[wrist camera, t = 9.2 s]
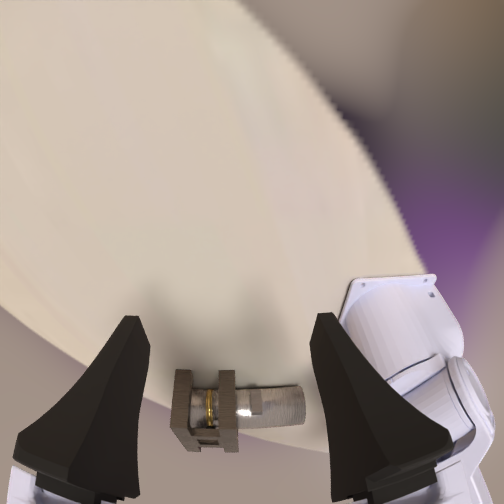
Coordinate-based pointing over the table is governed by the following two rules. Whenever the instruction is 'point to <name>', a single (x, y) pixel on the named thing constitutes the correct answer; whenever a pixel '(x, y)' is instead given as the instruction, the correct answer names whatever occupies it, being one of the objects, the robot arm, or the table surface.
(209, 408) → the grey metal cylinder
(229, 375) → the brown bracket plates
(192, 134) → the table surface
